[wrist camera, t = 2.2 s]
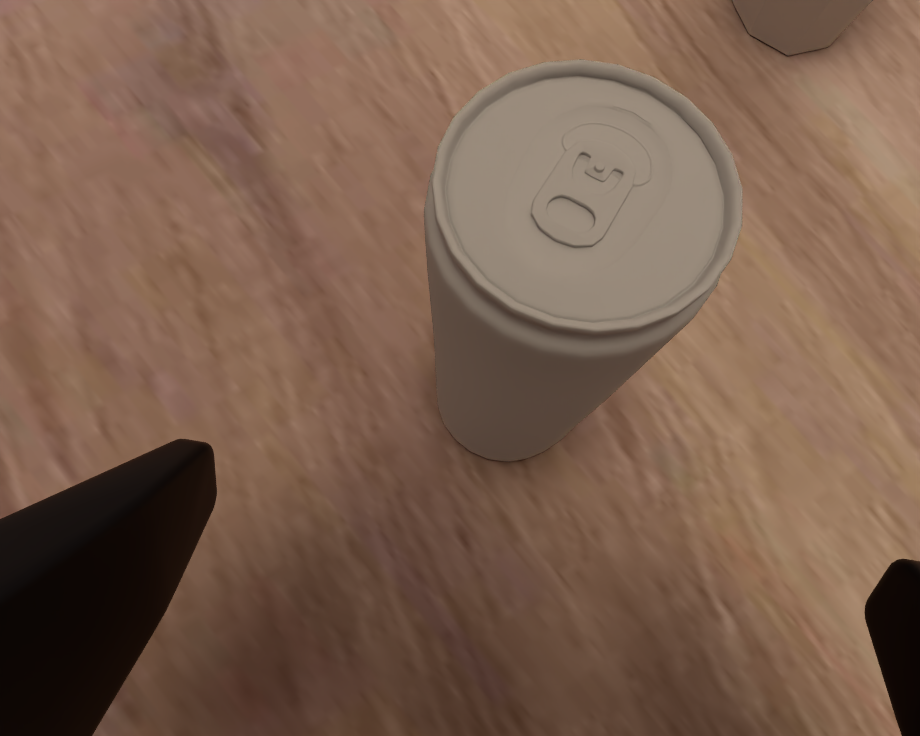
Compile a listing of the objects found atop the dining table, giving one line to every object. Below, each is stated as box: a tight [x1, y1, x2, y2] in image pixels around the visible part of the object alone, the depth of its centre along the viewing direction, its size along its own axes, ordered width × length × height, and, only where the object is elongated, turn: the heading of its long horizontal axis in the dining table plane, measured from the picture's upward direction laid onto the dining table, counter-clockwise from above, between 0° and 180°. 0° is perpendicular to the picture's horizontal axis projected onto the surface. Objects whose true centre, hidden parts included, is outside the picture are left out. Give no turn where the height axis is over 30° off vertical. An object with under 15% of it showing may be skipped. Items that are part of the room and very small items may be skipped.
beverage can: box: [424, 59, 742, 462], centre depth 14 cm, size 5×5×12 cm
